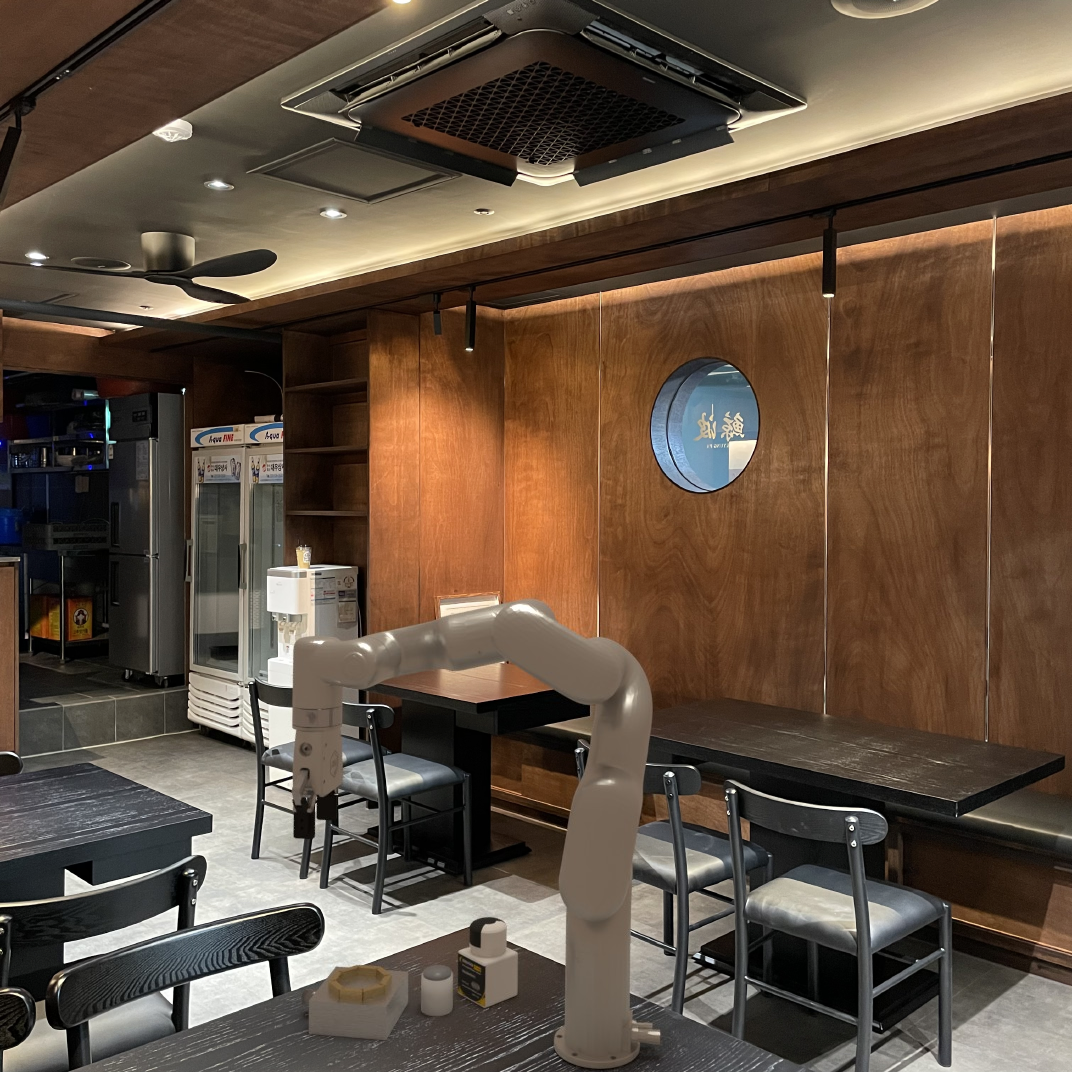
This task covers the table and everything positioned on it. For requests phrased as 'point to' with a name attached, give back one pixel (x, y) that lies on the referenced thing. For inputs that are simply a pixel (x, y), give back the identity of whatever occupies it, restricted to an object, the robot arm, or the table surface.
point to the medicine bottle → (487, 964)
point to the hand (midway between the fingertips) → (315, 828)
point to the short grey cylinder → (437, 990)
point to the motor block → (357, 1002)
